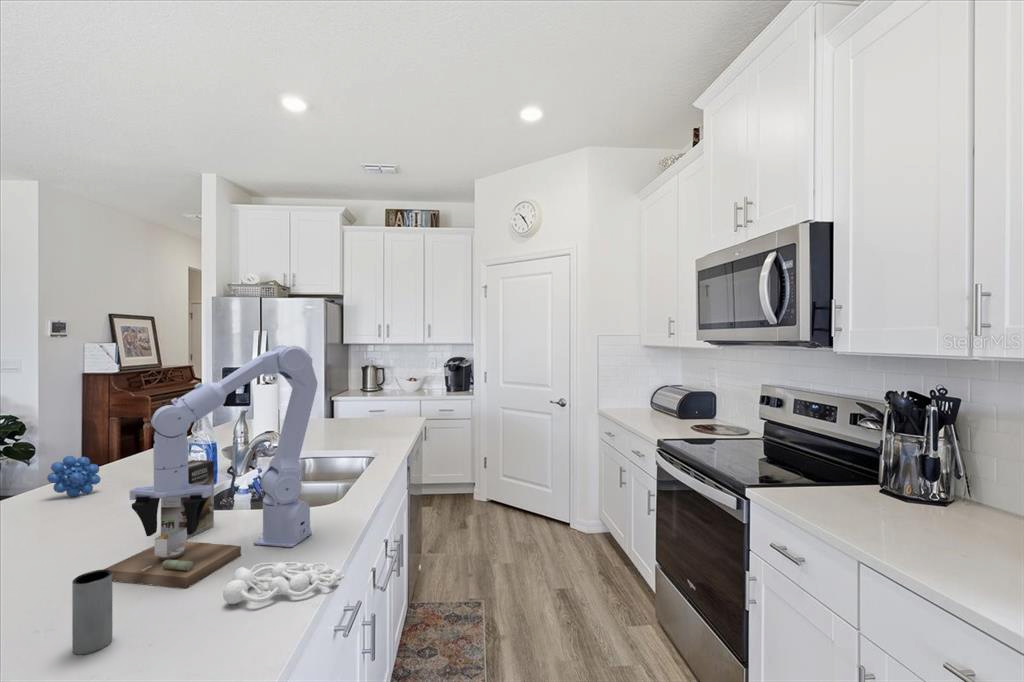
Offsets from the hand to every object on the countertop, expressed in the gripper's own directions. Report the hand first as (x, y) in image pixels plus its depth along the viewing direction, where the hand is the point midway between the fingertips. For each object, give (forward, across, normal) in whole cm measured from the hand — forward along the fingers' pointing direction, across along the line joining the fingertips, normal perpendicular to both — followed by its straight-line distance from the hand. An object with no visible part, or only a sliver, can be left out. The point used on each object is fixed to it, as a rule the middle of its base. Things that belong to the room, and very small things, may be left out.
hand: (171, 533), depth 99 cm
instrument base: (+7, +1, 0) cm, 7 cm away
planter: (+7, +3, -26) cm, 27 cm away
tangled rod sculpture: (+7, +25, -10) cm, 28 cm away
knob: (+4, 0, 0) cm, 4 cm away
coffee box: (+7, -7, +18) cm, 21 cm away
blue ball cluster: (+7, -53, +48) cm, 72 cm away
